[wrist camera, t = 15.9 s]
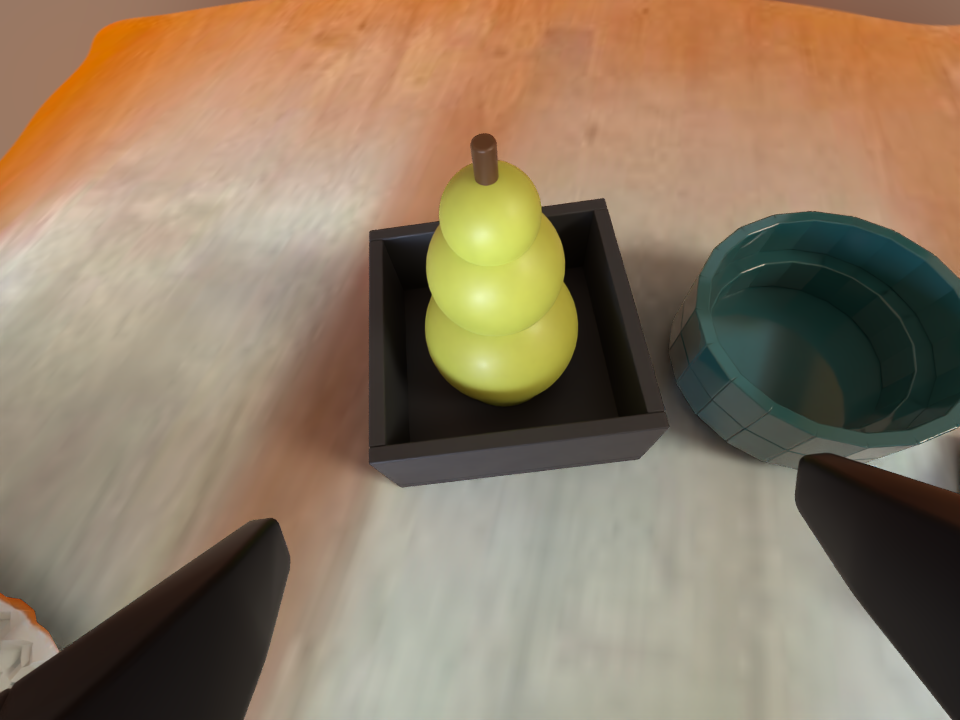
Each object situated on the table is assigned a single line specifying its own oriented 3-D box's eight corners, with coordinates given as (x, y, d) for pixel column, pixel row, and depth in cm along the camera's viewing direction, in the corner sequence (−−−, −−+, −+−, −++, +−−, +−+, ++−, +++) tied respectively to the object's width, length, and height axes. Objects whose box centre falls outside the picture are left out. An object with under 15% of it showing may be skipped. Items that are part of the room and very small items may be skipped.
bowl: (908, 502, 18) (1018, 480, 14) (652, 443, 20) (685, 408, 16) (889, 295, 22) (972, 231, 18) (675, 262, 24) (706, 196, 20)
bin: (639, 459, 20) (670, 427, 16) (400, 487, 20) (368, 464, 16) (590, 263, 24) (604, 197, 20) (395, 289, 24) (368, 230, 20)
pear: (500, 453, 20) (472, 300, 9) (413, 360, 22) (304, 147, 11) (598, 362, 21) (676, 134, 10) (506, 284, 23) (491, 27, 12)
